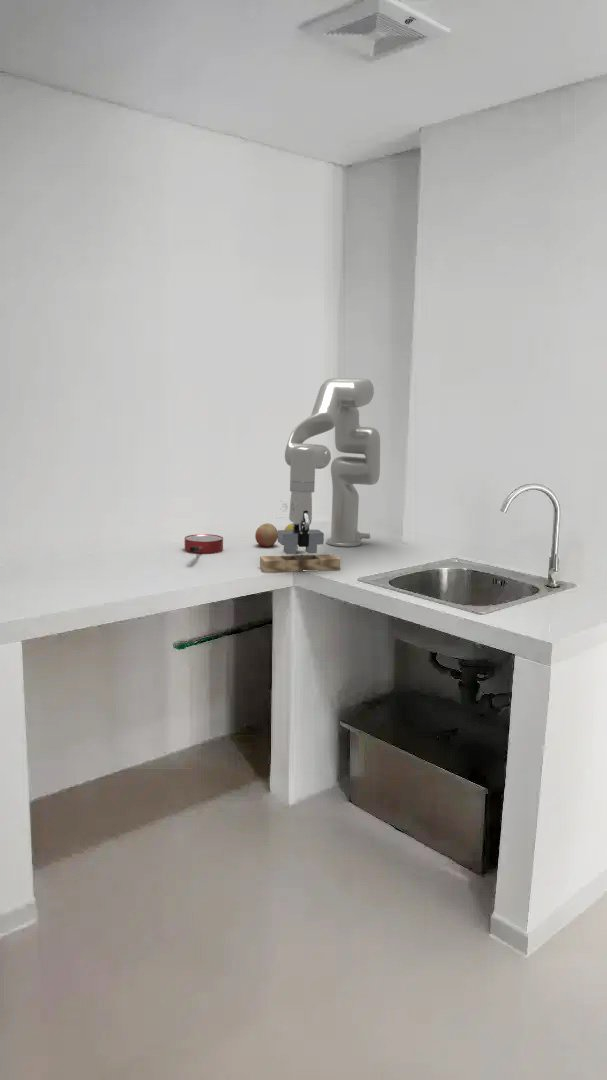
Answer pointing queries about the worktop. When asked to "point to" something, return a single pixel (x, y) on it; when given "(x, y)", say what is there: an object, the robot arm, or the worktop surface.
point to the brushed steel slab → (291, 539)
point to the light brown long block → (299, 563)
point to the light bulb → (290, 527)
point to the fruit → (266, 535)
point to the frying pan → (203, 544)
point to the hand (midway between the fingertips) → (300, 543)
